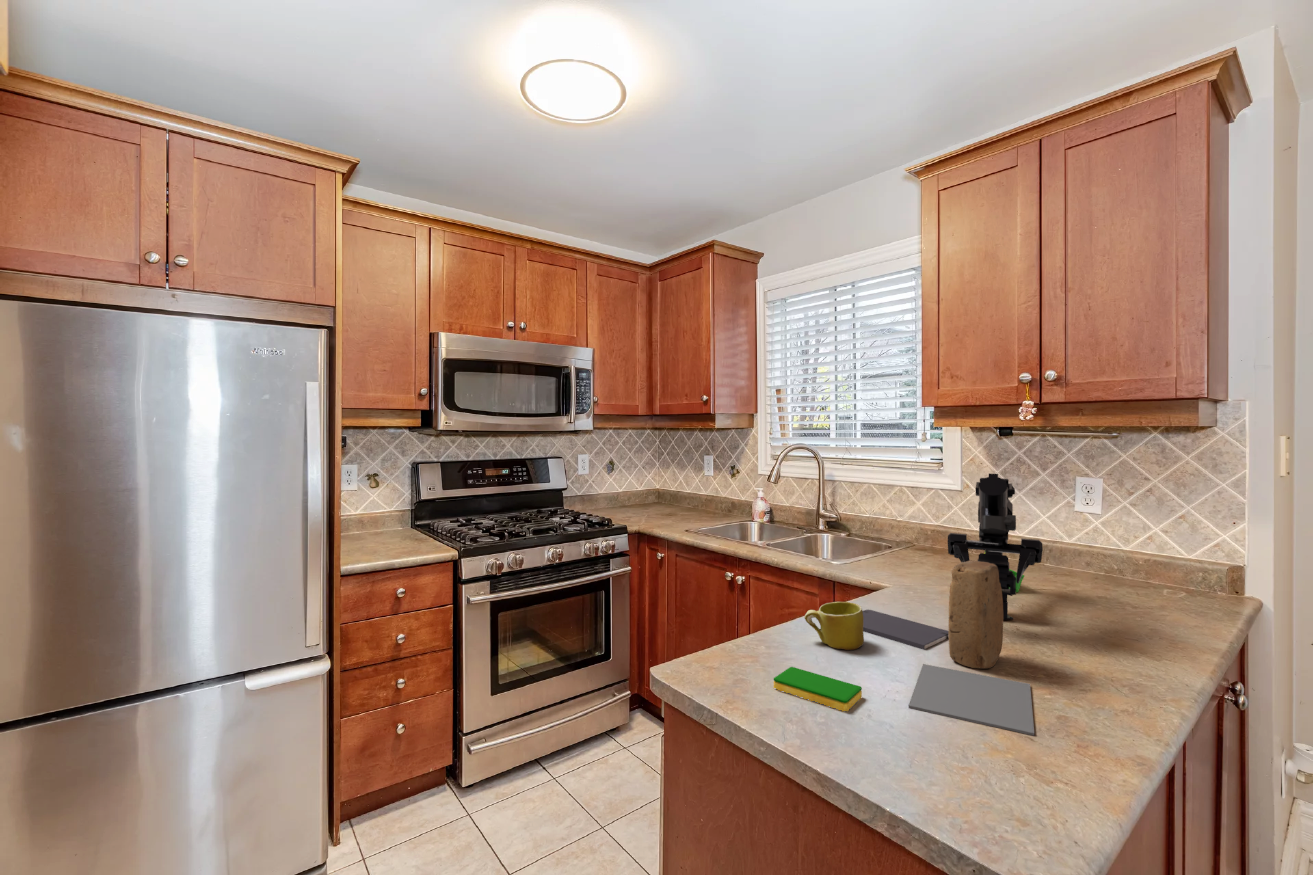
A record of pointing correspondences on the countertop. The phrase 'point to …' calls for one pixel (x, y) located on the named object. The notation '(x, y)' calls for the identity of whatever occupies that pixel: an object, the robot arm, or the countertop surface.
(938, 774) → the countertop surface
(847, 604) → the mug
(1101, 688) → the countertop surface
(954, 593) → the brown rough stone
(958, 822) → the countertop surface
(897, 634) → the notebook
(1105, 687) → the countertop surface
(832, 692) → the dish sponge
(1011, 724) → the mat
